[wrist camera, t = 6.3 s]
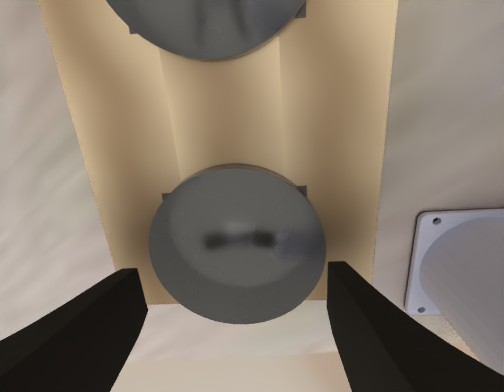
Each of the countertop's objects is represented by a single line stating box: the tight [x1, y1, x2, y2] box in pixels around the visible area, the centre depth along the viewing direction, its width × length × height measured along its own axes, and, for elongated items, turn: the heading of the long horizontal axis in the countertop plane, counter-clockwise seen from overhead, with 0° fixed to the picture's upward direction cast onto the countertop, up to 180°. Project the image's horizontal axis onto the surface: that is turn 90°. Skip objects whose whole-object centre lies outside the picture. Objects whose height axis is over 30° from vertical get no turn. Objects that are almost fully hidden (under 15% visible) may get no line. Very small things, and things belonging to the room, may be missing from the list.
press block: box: [38, 0, 398, 305], centre depth 14 cm, size 13×19×5 cm
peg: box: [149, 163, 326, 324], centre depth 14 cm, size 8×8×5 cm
